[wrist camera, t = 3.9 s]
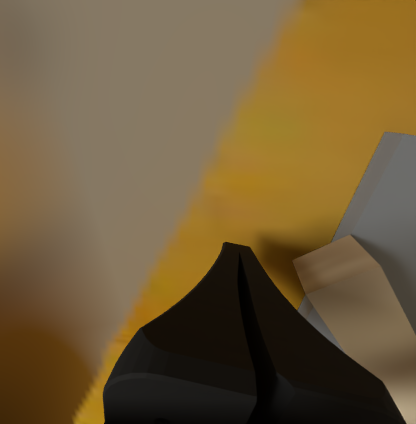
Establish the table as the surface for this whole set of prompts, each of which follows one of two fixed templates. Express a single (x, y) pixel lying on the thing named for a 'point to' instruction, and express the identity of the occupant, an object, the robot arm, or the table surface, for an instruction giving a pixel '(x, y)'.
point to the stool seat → (384, 223)
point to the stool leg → (363, 315)
